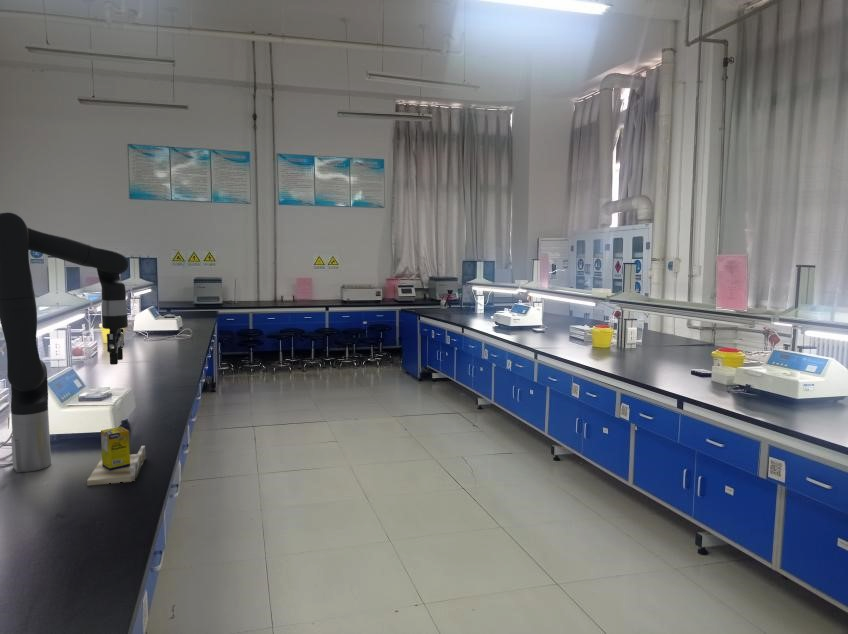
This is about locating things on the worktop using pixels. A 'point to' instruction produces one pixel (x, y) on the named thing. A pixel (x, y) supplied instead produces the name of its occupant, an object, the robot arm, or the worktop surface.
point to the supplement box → (115, 448)
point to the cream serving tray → (118, 471)
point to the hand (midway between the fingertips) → (116, 362)
